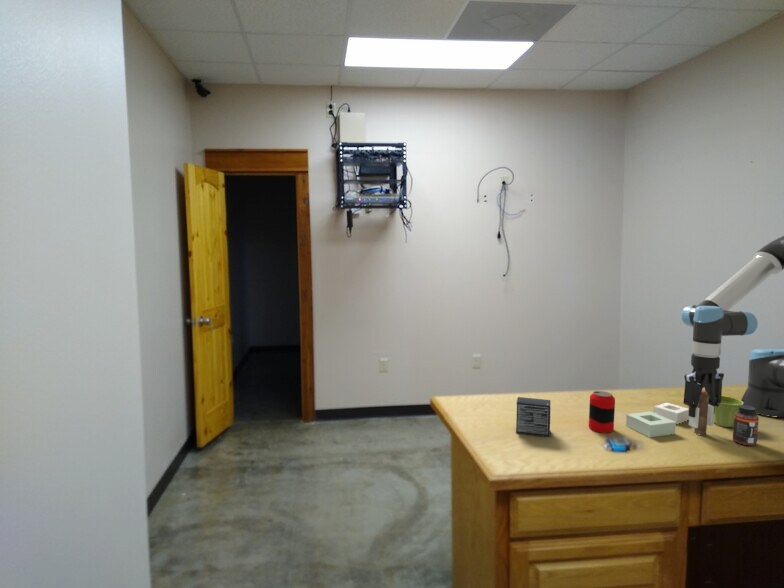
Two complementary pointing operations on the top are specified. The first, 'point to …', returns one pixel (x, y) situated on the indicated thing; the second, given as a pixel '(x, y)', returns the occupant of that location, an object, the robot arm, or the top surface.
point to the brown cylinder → (702, 413)
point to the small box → (533, 416)
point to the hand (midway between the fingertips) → (700, 425)
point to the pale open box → (650, 424)
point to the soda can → (601, 412)
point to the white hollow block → (672, 412)
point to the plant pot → (726, 411)
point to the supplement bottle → (745, 426)
